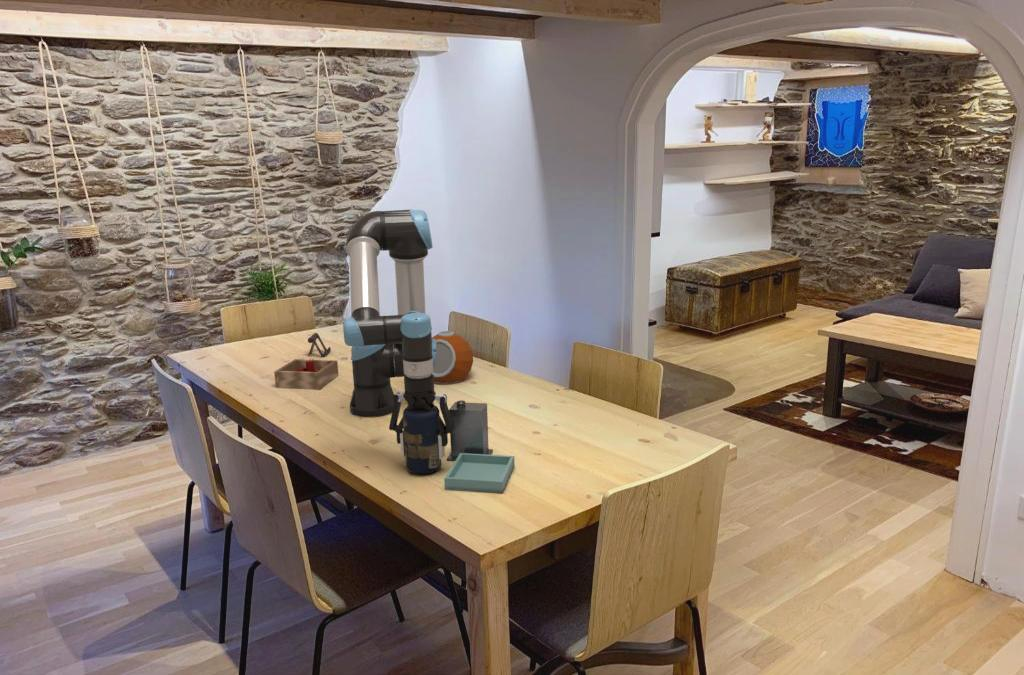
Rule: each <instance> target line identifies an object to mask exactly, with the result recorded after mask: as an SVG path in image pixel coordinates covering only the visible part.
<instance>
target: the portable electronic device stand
mask: <svg viewBox="0 0 1024 675" xmlns="http://www.w3.org/2000/svg"><path fill="white" fill-rule="evenodd" d="M317 339H318V341H319V342H320V345H321V346H322V348H323V350H324V352H322V350H321V348H320V347H319V345H318V343H317ZM307 342H308V343H309V344H311V347H310V349H309V352H308V355H307V356H308V357H309V356H310V355H311V354H312V353H313V350H314V348H316V350H317V351H318V353H319V355H320V357H322V358H326V356H327V355H329V353H330V352H331V351H332V348H331V346H329V347H328V348H326V346H325V344H324V341H323V340H322V338H321V337H320V335H319V333H318V332H314V333H313V334H312V335H311V336H309V337H308V339H307Z"/></svg>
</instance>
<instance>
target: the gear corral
mask: <svg viewBox="0 0 1024 675" xmlns="http://www.w3.org/2000/svg"><path fill="white" fill-rule="evenodd" d="M309 360H311V361H314V370H316V371H318V366H319V367H321V368H319V369H320V371H318V372H299V371H297V369H298V367H305V368H306V361H309ZM339 376H340V375H339V364H338V360H335V359H334V360H332V359H331V360H328V359H327V360H326V359H325V360H324V359H303V358H302V359H299V358H296V359H293V360H291V361H290V362H287V363H286V364H285V365H283V366H281V367H279V368H278V369H276V370H275V371H274V382H275V388H277V389H296V390H299V389H301V390H322V389H323V388H324V387H326V386H327V385H329V384H330V383H331V382H333V381H334V380H335V379H337V378H338V377H339Z"/></svg>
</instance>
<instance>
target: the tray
mask: <svg viewBox="0 0 1024 675" xmlns="http://www.w3.org/2000/svg"><path fill="white" fill-rule="evenodd" d="M514 469H515V456H514V455H501V454H491V455H486V454H469V453H460V454H459V456H458V457H457V459H456V461H453V463H452V466H451V467H450V469H449V470H448V472H447V473H446V474H445V476H444V481H443V482H444V483H443V484H444V490H449V491H460V492H461V491H464V492H465V491H466V492H477V493H478V492H479V493H493V494H504V491H505V489H506V488H507V485H508V482H509V480H510V478H511V475H512V473H513V471H514Z"/></svg>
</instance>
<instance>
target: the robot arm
mask: <svg viewBox="0 0 1024 675" xmlns="http://www.w3.org/2000/svg"><path fill="white" fill-rule="evenodd" d="M433 247H434V246H433V241H432V234H431V229H430V223H429V218H428V215H427V213H426V211H424V210H422V209H395V210H375V211H370V212H367V213H365V214H364V215H363V216H361V217H360V218H359V219H357V221H355V223H354V224H353V226H352V227H351V228H350V230H349V232H348V234H347V237H346V241H345V251H346V255H347V256H348V257H349V265H350V266H349V267H350V268H349V271H350V277H349V278H350V280H349V281H350V317H346V318H344V319H343V322H342V325H343V327H342V328H343V330H342V331H343V339H344V343H345V345H346V346H348V347H350V348H351V350H350V351H351V357H350V360H351V361H352V362H351V364H352V380H353V390H352V395H351V398H350V403H349V412H350V414H352V415H353V416H355V417H361V418H377V417H382V416H387V415H390V414H391V417H390V421H389V426H388V429H389V430H390V431H394V432H395V434H396V443H397V444H398V445H400V456H401V458H405V443H404V428H403V416H402V417H401V419H400V420H399V423H398V419H399V414H400V409H401V405H402V402H403V400H405V401H406V403H407V406H406V407H407V408H406V407H405V408H406V410H411V409H412V407H414V409H417V410H419V409H420V410H426V411H427V412H428V411H432V410H433V409H434V408H435V406H436V405H435V404H434V401H436V402H437V404H438V405H439V410H440V412H441V414H439V419H437V428H438V430H439V432H440V434H439V435H438V444H439V459H441V460H443V459H444V457H445V456H446V451H445V450H446V449H445V448H446V447H447V445H448V443H449V439H448V438H449V437H448V435H449V434H450V433H452V431H453V430H454V425H453V422H452V418H451V415H450V412H449V409H450V408H449V405H448V396H447V394H445V393H444V394H442V395H441V394H437V393H436V392H435V382H434V375H433V374H432V373H433V371H434V368H435V362H436V340H435V339H433V338H432V337H433V336H432V330H433V328H432V323H431V322H432V321H431V317H430V315H429V314H427V313H426V297H425V296H426V295H425V272H424V271H425V270H424V268H425V267H424V260H425V259H426V258H427V256H429V251H428V250H431V249H432V248H433ZM381 251H383V252H384V251H388V255H389V258H391V259H392V260H393V261H394V270H395V272H394V273H395V286H396V288H395V289H396V302H397V303H396V304H397V314H393V315H381V311H380V293H379V275H378V274H379V272H378V256H379V255H380V252H381ZM391 378H392V379H393V378H403V382H404V383H403V384H404V387H403V388H404V392H403V393H401V392H396V393H395V392H394V390H393V388H392V386H391ZM430 406H432V407H431V408H430ZM440 415H441V416H442V417H441V416H440ZM442 418H443V419H442Z"/></svg>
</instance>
